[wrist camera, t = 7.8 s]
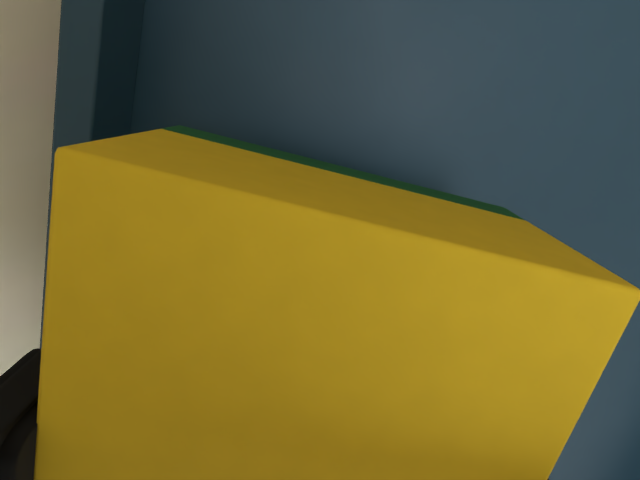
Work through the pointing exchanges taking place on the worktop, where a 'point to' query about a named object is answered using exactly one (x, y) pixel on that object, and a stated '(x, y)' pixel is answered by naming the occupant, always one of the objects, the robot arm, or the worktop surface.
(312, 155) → the tray
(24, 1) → the worktop surface
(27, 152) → the worktop surface
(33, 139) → the worktop surface
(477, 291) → the sponge
